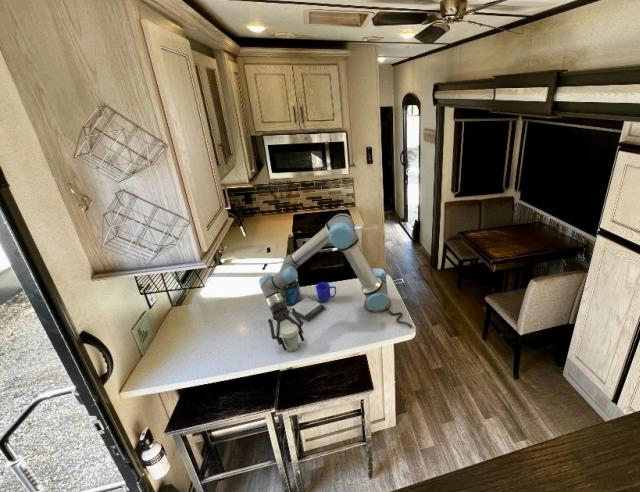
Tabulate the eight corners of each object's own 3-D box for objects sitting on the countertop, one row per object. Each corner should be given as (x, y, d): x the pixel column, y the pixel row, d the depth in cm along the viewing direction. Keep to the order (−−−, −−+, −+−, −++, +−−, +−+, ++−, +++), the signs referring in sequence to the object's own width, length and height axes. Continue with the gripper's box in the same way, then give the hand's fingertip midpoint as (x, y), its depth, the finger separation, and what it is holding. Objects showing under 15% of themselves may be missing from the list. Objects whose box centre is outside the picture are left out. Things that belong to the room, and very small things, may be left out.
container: (277, 299, 202) (274, 276, 196) (296, 293, 209) (294, 270, 203) (284, 309, 194) (281, 285, 188) (304, 302, 201) (302, 278, 195)
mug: (335, 303, 198) (334, 289, 194) (316, 303, 199) (314, 289, 195) (338, 295, 206) (337, 281, 202) (319, 295, 206) (317, 281, 202)
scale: (324, 309, 194) (324, 304, 192) (307, 321, 184) (307, 317, 183) (307, 300, 201) (306, 296, 200) (290, 312, 192) (289, 307, 190)
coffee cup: (302, 351, 164) (298, 332, 159) (284, 355, 161) (280, 336, 156) (300, 339, 171) (297, 321, 166) (283, 343, 168) (279, 325, 164)
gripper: (294, 297, 176) (312, 336, 172) (254, 314, 164) (271, 357, 159) (297, 293, 171) (316, 333, 166) (256, 311, 158) (274, 355, 153)
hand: (294, 345), depth 162 cm, fingers open, 9 cm apart
